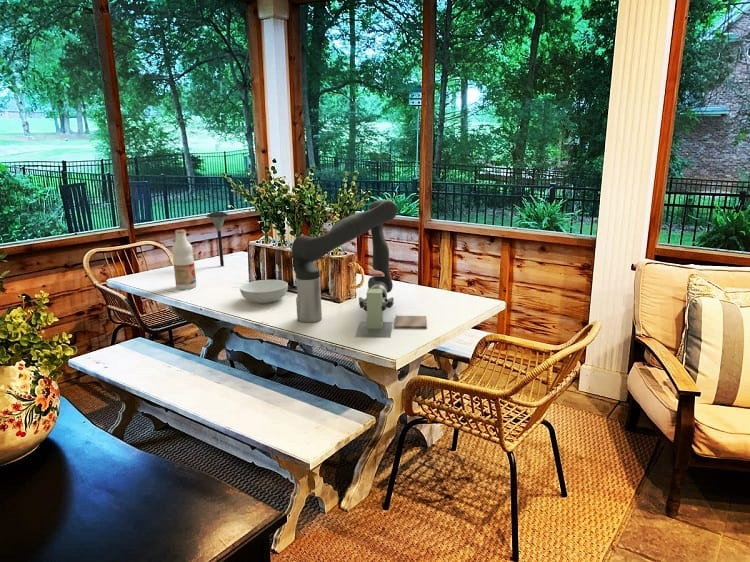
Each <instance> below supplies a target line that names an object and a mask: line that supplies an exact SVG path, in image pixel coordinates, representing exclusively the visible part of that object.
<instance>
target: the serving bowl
mask: <svg viewBox="0 0 750 562" xmlns="http://www.w3.org/2000/svg"><path fill="white" fill-rule="evenodd" d="M288 288H289V285H288V282H287V281H284V280H280V279H259V280H254V281H249V282H247V283H244V284H242V285H241V286H240V287H239V291H240V294H241V295H242V297H243V298H244V299H245V300H246V301H248V302H252V303H256V304H257V303H258V304H269V303H273V302H275V301H278V300H280V299H282V298H284V297H285V296H286V294H287V291H288V290H289V289H288ZM268 302H269V303H268Z"/></svg>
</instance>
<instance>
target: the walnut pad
mask: <svg viewBox="0 0 750 562" xmlns="http://www.w3.org/2000/svg"><path fill="white" fill-rule="evenodd" d="M427 328H428V327H427V316H426V315H395V320H394V329H416V330H417V329H421V330H422V329H425V330H426V329H427Z"/></svg>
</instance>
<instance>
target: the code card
mask: <svg viewBox="0 0 750 562" xmlns="http://www.w3.org/2000/svg"><path fill="white" fill-rule="evenodd" d="M392 331H393V321H383V326H382V329H367V321H359V322H358V326H357V329H356V333H355V336H354V338H369V339H370V338H373V339H377V338H378V339H379V338H380V339H382V338H384V339H391V338H392Z"/></svg>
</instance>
